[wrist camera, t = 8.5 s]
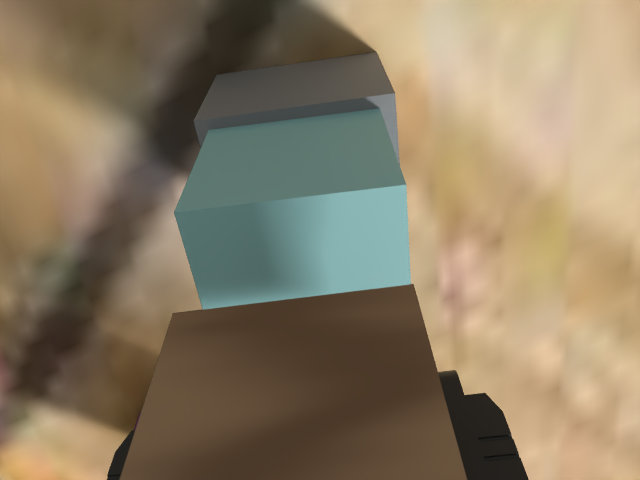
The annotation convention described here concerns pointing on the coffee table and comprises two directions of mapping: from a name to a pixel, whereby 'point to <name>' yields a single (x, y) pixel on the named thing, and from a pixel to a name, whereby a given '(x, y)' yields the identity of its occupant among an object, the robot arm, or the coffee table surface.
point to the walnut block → (297, 394)
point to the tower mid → (295, 210)
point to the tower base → (299, 94)
